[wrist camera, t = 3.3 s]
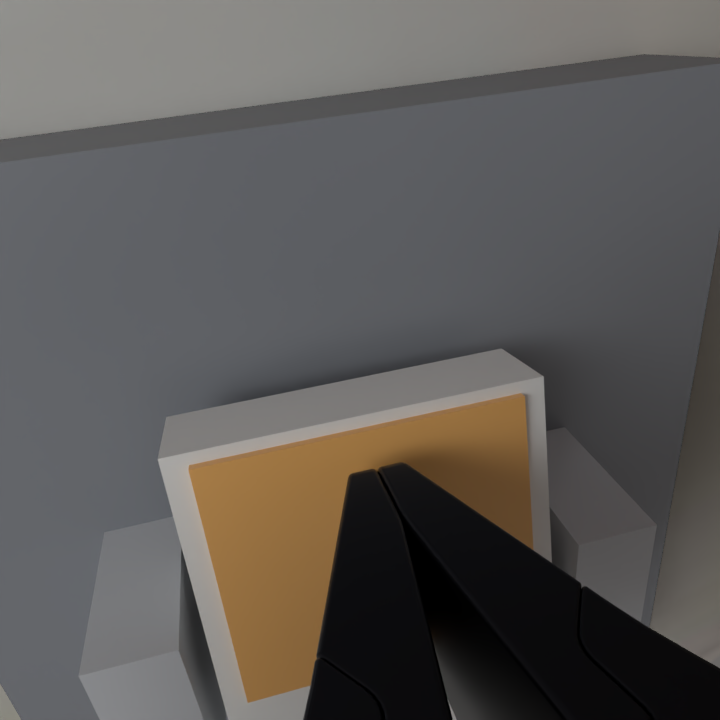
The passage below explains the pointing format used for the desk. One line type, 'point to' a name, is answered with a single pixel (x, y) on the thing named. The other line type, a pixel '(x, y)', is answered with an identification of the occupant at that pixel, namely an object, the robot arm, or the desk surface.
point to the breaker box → (335, 326)
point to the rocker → (334, 499)
